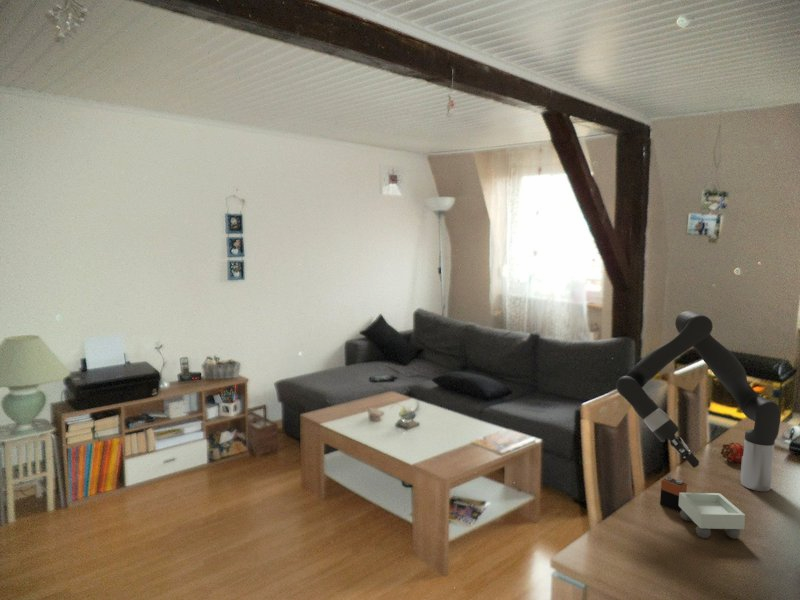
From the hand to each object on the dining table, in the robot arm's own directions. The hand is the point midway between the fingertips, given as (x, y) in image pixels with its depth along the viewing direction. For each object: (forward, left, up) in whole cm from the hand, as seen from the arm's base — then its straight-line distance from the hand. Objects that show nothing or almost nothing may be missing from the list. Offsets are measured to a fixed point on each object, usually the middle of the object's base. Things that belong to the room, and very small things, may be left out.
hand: (696, 465), depth 184 cm
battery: (-2, -6, -16) cm, 17 cm away
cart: (+12, -1, -16) cm, 20 cm away
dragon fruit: (-42, +37, -16) cm, 59 cm away
